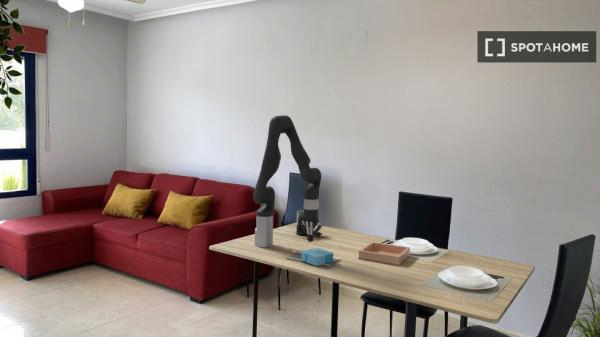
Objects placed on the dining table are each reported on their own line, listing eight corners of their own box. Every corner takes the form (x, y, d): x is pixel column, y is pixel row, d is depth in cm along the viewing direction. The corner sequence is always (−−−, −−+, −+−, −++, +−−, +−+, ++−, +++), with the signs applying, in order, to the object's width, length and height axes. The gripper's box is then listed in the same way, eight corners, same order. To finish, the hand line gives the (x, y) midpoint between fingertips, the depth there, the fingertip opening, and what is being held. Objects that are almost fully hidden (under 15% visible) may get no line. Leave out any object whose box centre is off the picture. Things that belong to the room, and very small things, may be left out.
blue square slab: (300, 260, 225) (317, 266, 216) (300, 251, 224) (317, 257, 216) (317, 256, 233) (334, 261, 224) (317, 247, 233) (334, 252, 224)
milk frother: (295, 232, 285) (295, 209, 283) (320, 232, 286) (320, 209, 285) (297, 238, 271) (297, 213, 269) (323, 238, 272) (323, 214, 271)
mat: (286, 258, 229) (286, 257, 229) (298, 253, 240) (298, 251, 240) (329, 266, 218) (329, 265, 218) (339, 260, 228) (339, 259, 228)
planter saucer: (358, 259, 231) (358, 250, 231) (371, 249, 249) (371, 241, 248) (399, 265, 221) (399, 257, 221) (409, 255, 239) (410, 247, 238)
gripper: (295, 207, 227) (295, 241, 228) (319, 210, 220) (319, 245, 222) (302, 205, 233) (302, 238, 235) (326, 207, 227) (325, 241, 229)
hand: (310, 241), depth 228 cm, fingers closed
